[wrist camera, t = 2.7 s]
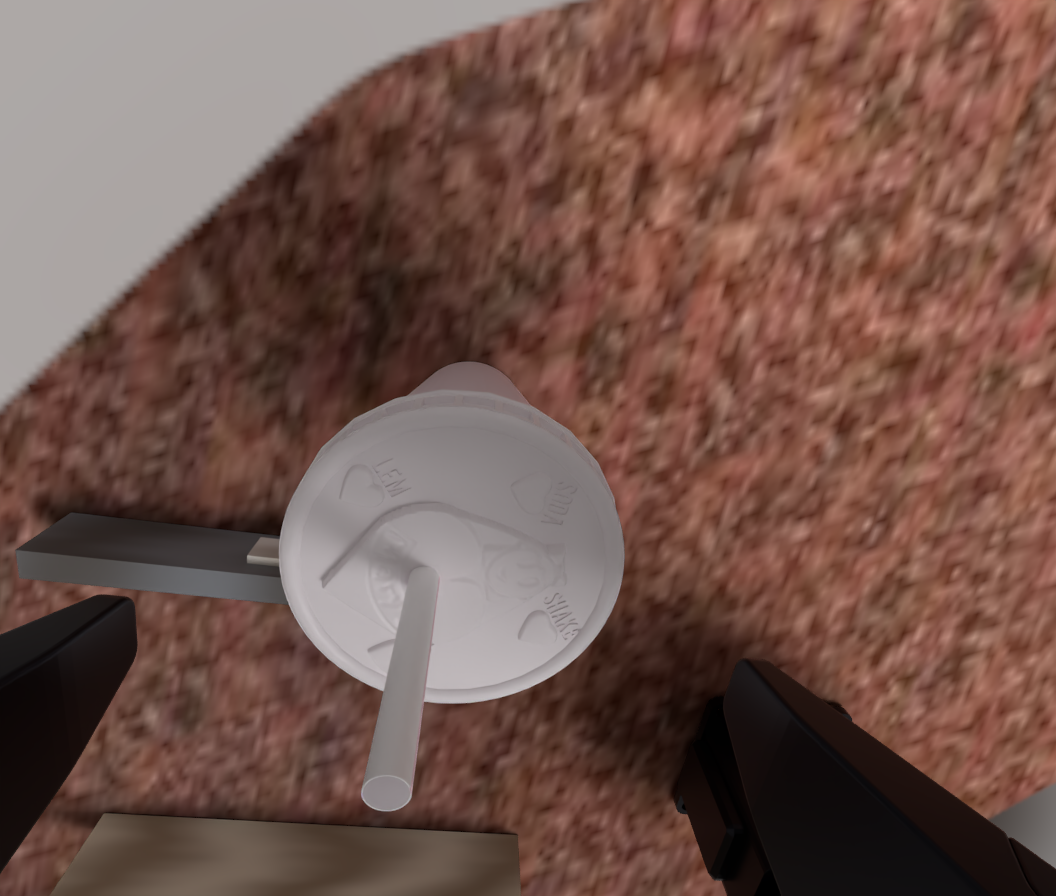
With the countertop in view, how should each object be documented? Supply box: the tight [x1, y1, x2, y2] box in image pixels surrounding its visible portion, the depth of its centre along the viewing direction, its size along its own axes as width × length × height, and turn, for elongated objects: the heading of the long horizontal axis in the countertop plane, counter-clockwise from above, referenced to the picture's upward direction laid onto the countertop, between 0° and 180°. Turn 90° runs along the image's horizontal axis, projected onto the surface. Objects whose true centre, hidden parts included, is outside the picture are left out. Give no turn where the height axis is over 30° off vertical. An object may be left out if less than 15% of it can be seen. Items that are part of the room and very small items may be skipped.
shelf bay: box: [15, 512, 521, 896], centre depth 21 cm, size 18×16×5 cm
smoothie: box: [279, 362, 625, 811], centre depth 13 cm, size 6×6×14 cm
